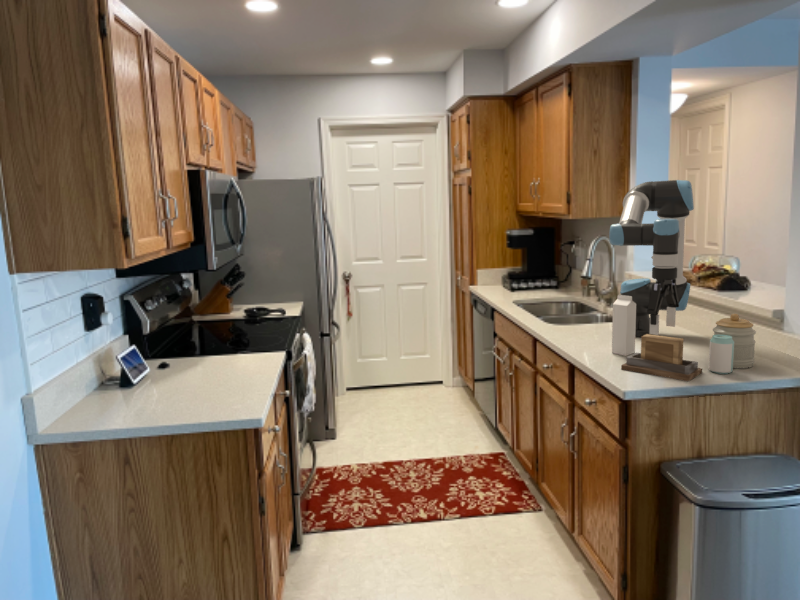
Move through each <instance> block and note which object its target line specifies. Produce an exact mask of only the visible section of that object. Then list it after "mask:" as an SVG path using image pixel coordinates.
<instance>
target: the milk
mask: <svg viewBox="0 0 800 600" xmlns="http://www.w3.org/2000/svg"><path fill="white" fill-rule="evenodd" d="M611 327H612V332H611V336H612V338H611V354H615V355H620V356H624V357H625V356H626V357H628V356H630V355H632V354H634V353H636V337H635V331H636V303H635V302H633V301H632V296H625V295H621V294H617V299H616V300H615V301H614V302H613V303H612V326H611Z"/></svg>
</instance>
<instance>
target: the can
mask: <svg viewBox="0 0 800 600" xmlns="http://www.w3.org/2000/svg"><path fill="white" fill-rule="evenodd" d="M708 352H709V353H708V354H709V355H708V370H709V371H711V373H713V374H719V375H727V374H728V373H729V374H730V373H732V372H733V369H734V368H733V357H734V341H733V339H732V336H729V335H714V334H713V335H712V338H710V339H709V351H708Z"/></svg>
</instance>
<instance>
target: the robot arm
mask: <svg viewBox="0 0 800 600" xmlns="http://www.w3.org/2000/svg"><path fill="white" fill-rule="evenodd" d="M692 186H693V185H692V182H691V181H690V180H684V179H682V180H681V179H673V180H660V181H659V180H657V181H654V180H653V181H651V180H650V181H646V182H642V183H640V184H637V185H635V186H634V187H632V188H631V189H630V190H629V191H628V192H627V193H626V194H625V195H624V197H623V201H622V207H623V209H622V212H621V216H620V219H619V221H618V223H613V224H611V225H609V226H610V227H609V234H608V235H609V237H608V238H609V243H610V245H612V246H618V247H619V246H620V247H623V246H626V247H627V246H630V247H631V246H632V247H633V246H634V247H635V246H636V247H637V246H652V255H651V260H652V266H653V267H652V268H651V269H652V271H651V278H652V279H654V280H655V282H654V281H651V279H650V278H648V277H647V278H643V277H642V278H635V279H627V280H624V281H622V283H621V284H620V292H619V294H620V295H625V296H632V301H633V302H635V303H636V331H635V338H637V337H638V338H639V337H641V336H644V335H646V334H651V335H658V336H660V335H659V333H660V314H659V312H660V311H666V315H665V316H666V320H665V326H666V327H673V328H675V327H676V314H677V312H683V311H685V310H686V309H687V306H688V301H689V297H690V290H691V283H689V282H687V281H688V279H687V278H686V277H685V276H684V254H685V253H684V252H685V251H684V250H685V226H686V219H687V218H688V217H689V216H690V212H691V211H694V208H695V206H694V195H693V187H692ZM646 212H656V215H657V217H658V219H655V220H654V221H653V223H652V222H651V223H643V219H644V215H645V213H646Z"/></svg>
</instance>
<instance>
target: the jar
mask: <svg viewBox="0 0 800 600" xmlns="http://www.w3.org/2000/svg"><path fill="white" fill-rule="evenodd" d="M715 324H716V326H714V327H713V328H712V332H714V333H713V335H729V336H732V339H733V341H734V357H733V369H749V368H752V367H753V366H754V364H755V344H756V340H755V334H757V331H756V330H755V329H754V328H753V327H754V326H755V325H754V323H752V322H751V321H750V320H748V319H745V318H740V316H739V314H738V313H731V315H730V317H725V318H721V319H719V320H717V321H716V322H715ZM748 367H749V368H748Z"/></svg>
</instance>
